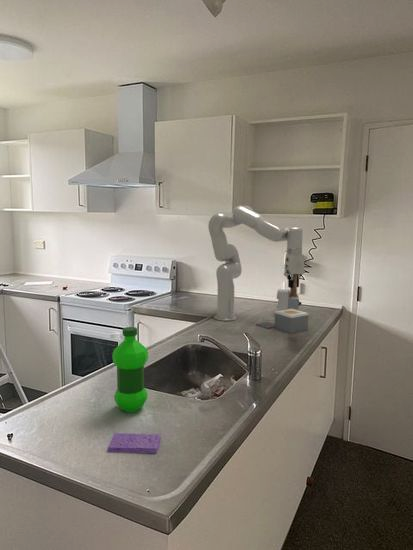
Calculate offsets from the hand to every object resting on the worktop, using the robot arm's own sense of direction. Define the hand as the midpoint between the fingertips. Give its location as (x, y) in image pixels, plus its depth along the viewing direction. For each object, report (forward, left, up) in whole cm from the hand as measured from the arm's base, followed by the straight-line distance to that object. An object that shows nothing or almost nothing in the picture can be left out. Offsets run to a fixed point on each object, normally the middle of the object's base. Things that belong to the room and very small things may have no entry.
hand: (293, 286), depth 216 cm
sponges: (+58, -115, -23) cm, 131 cm away
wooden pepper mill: (0, 0, -5) cm, 5 cm away
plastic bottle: (+39, -107, -23) cm, 116 cm away
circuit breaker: (-22, +20, -23) cm, 37 cm away
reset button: (0, 0, -18) cm, 18 cm away
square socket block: (0, 0, -22) cm, 22 cm away
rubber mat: (-12, -6, -22) cm, 26 cm away
